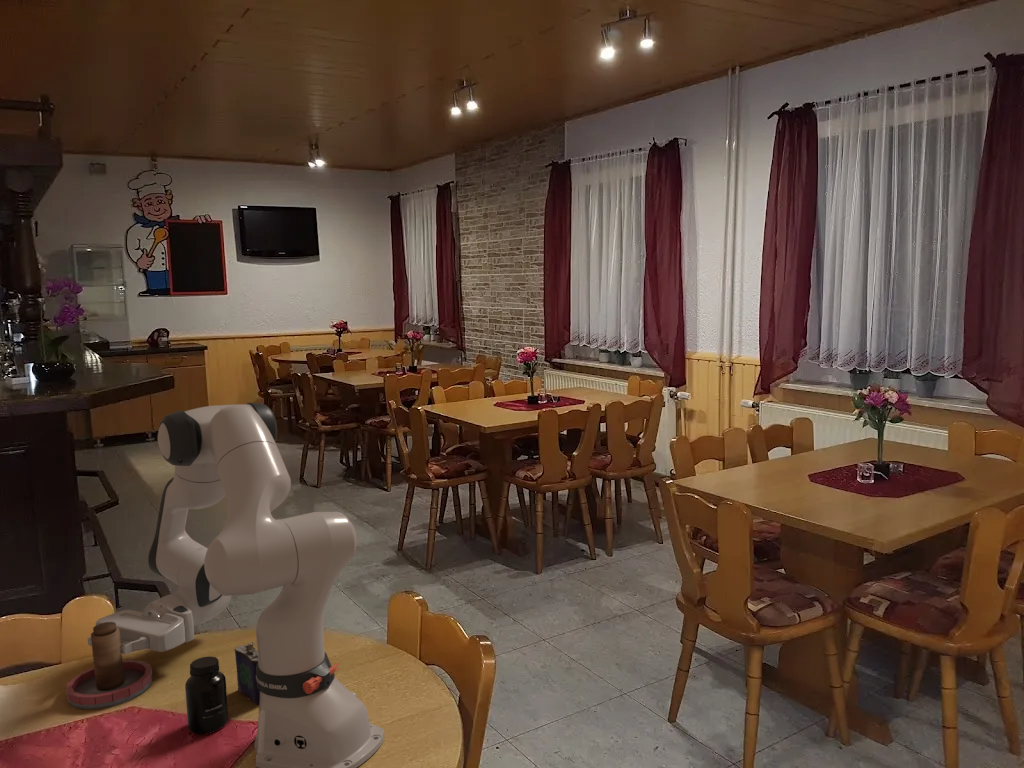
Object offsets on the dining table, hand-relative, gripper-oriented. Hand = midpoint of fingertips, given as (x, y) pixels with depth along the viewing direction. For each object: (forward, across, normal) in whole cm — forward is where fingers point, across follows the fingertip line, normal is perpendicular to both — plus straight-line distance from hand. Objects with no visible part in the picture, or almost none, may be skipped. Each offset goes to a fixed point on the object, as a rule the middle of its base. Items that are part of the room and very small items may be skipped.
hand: (106, 646), depth 154 cm
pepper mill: (0, 0, +8) cm, 8 cm away
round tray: (0, 0, +9) cm, 9 cm away
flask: (-9, +29, +9) cm, 32 cm away
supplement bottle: (+2, +29, +9) cm, 31 cm away
